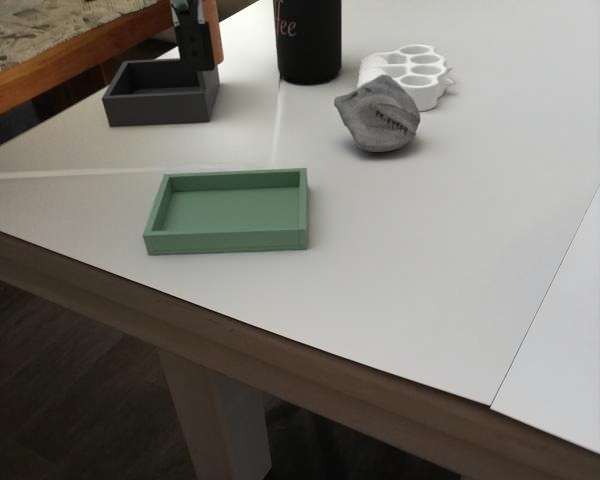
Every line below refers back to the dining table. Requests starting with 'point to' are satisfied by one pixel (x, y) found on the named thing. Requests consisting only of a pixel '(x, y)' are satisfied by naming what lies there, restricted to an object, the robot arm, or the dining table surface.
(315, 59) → the coffee jar
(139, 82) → the black box
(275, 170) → the tray
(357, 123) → the fossil
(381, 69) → the white multi-well holder
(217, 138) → the dining table surface
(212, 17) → the orange cylinder
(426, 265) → the dining table surface
